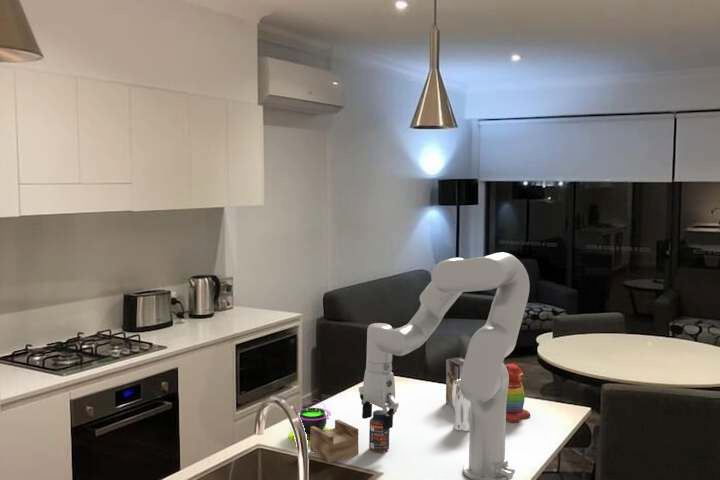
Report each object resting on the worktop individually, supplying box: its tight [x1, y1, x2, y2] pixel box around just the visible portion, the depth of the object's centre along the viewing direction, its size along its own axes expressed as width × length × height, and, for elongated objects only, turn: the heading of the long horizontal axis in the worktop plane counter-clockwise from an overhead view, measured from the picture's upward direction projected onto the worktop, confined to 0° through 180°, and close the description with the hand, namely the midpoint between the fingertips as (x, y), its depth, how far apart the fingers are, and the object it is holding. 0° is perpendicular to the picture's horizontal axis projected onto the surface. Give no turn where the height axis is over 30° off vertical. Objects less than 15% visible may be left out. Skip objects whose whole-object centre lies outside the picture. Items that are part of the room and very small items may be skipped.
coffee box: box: [445, 356, 465, 407], centre depth 233 cm, size 9×6×16 cm
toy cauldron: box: [288, 398, 332, 446], centre depth 205 cm, size 15×15×11 cm
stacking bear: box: [505, 362, 531, 424], centre depth 223 cm, size 11×10×18 cm
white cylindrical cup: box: [452, 380, 470, 432], centre depth 212 cm, size 7×7×15 cm
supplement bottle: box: [368, 409, 391, 454], centre depth 195 cm, size 6×6×11 cm
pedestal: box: [309, 419, 359, 463], centre depth 192 cm, size 10×10×7 cm
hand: (377, 422), depth 195 cm, fingers open, 9 cm apart
